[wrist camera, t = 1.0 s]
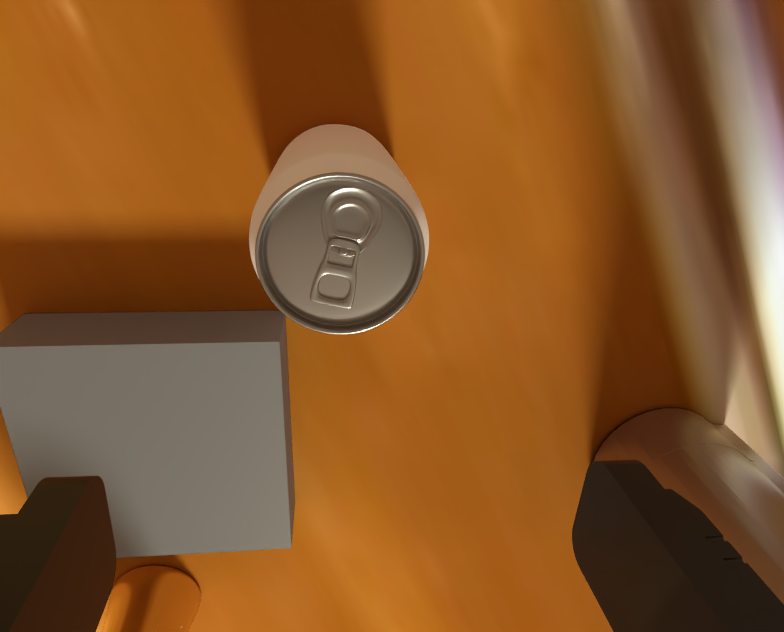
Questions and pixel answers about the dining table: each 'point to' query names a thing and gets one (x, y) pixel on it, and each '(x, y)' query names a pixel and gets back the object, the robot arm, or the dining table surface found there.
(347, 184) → the can
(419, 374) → the dining table surface
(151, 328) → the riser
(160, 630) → the beer glass
